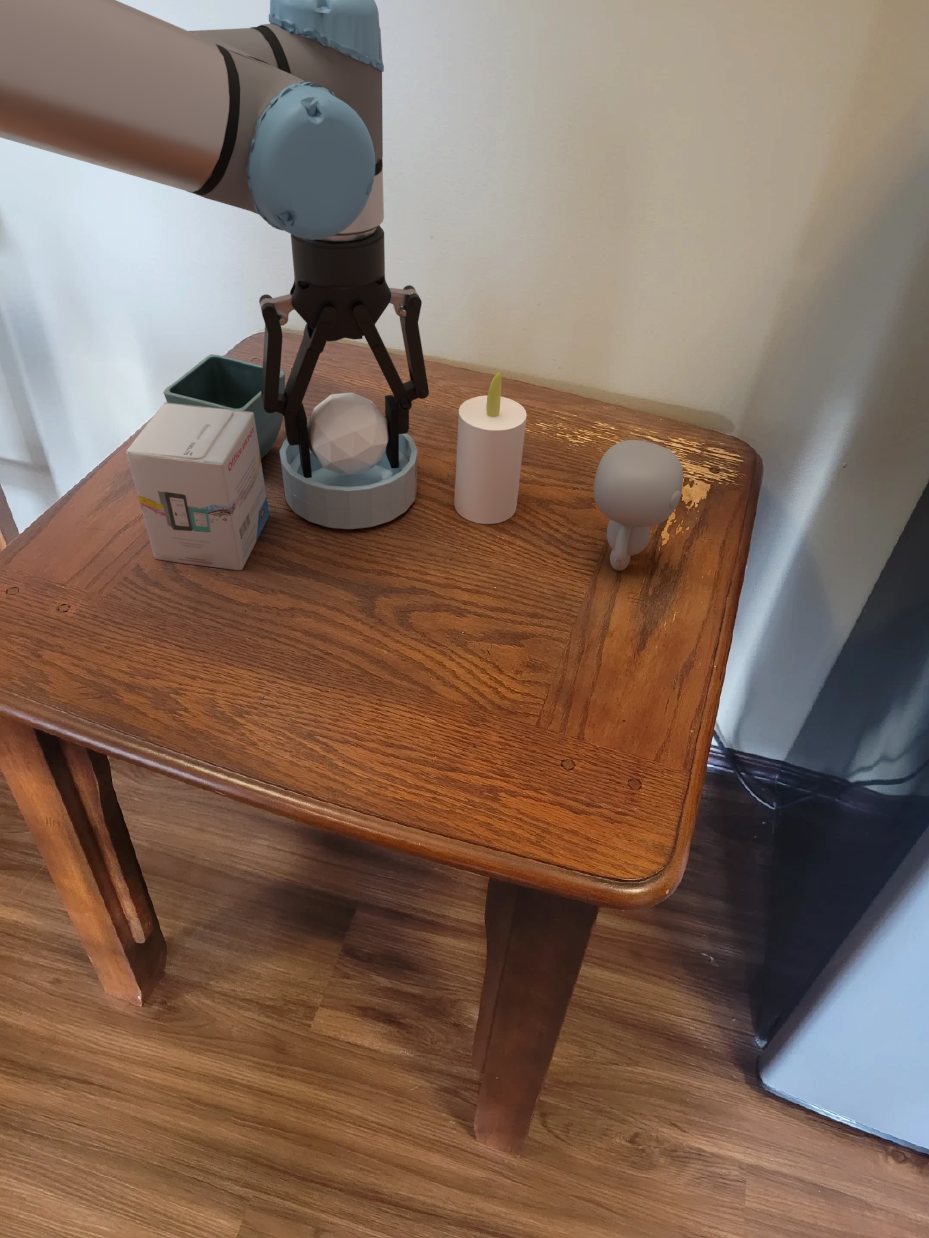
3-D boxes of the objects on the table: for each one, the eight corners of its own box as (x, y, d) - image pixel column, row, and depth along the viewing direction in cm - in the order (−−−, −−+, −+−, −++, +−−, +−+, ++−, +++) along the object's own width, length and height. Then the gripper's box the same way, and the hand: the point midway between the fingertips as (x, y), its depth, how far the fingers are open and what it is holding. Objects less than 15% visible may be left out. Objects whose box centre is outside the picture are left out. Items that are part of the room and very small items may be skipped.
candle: (497, 480, 89) (510, 345, 79) (527, 515, 85) (544, 377, 74) (443, 493, 87) (448, 356, 77) (470, 530, 83) (480, 390, 72)
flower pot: (252, 490, 86) (241, 411, 79) (177, 470, 88) (160, 391, 81) (295, 447, 92) (287, 370, 85) (223, 429, 94) (210, 352, 87)
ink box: (187, 505, 83) (163, 398, 75) (271, 516, 83) (257, 409, 75) (151, 560, 77) (122, 450, 69) (242, 572, 77) (223, 462, 68)
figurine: (655, 597, 77) (685, 487, 69) (573, 579, 78) (593, 469, 70) (664, 544, 83) (693, 437, 74) (588, 528, 84) (608, 421, 75)
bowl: (257, 493, 85) (251, 450, 82) (352, 443, 93) (350, 402, 89) (349, 551, 79) (347, 507, 76) (443, 492, 87) (444, 450, 84)
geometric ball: (332, 485, 86) (300, 409, 85) (405, 456, 86) (374, 379, 84) (320, 492, 79) (285, 410, 77) (399, 461, 78) (366, 377, 76)
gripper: (207, 249, 63) (246, 499, 79) (473, 235, 68) (460, 475, 84) (201, 214, 68) (239, 456, 84) (450, 204, 73) (441, 435, 89)
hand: (349, 465), depth 84 cm, fingers closed on geometric ball, 8 cm apart
